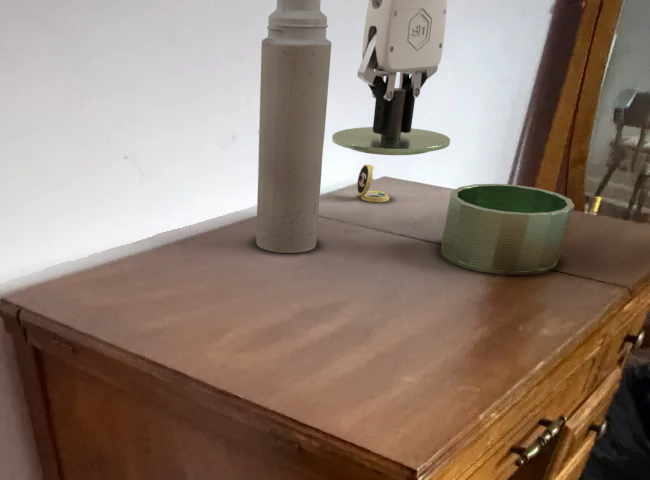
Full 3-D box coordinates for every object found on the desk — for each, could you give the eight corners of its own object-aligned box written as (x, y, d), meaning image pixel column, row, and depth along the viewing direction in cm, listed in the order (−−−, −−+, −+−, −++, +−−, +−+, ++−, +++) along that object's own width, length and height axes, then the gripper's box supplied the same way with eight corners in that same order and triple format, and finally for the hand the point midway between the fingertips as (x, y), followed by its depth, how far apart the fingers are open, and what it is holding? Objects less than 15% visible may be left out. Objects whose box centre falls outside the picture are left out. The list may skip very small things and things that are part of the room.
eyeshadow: (392, 201, 114) (397, 167, 110) (362, 202, 113) (366, 168, 110) (383, 194, 117) (387, 161, 114) (354, 195, 116) (357, 161, 113)
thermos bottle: (291, 231, 100) (306, -24, 82) (328, 247, 95) (351, -22, 77) (244, 240, 96) (249, -24, 79) (279, 257, 91) (293, -22, 74)
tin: (492, 233, 101) (504, 179, 97) (580, 262, 92) (598, 204, 87) (417, 249, 95) (426, 192, 90) (503, 283, 86) (519, 221, 81)
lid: (393, 131, 106) (399, 78, 102) (473, 149, 96) (484, 91, 92) (308, 142, 99) (311, 86, 95) (385, 163, 89) (392, 101, 85)
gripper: (381, -45, 79) (364, 143, 90) (483, -44, 86) (454, 131, 97) (338, -45, 84) (326, 134, 95) (437, -44, 91) (415, 123, 102)
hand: (391, 131), depth 96 cm, fingers closed on lid, 2 cm apart
